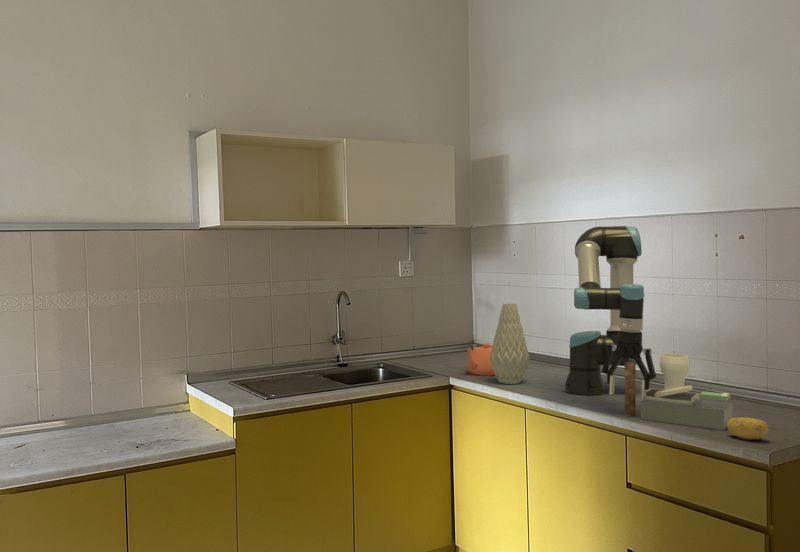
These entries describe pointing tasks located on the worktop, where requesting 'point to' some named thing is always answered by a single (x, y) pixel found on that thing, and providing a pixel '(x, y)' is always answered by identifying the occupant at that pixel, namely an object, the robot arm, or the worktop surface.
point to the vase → (509, 347)
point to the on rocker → (714, 395)
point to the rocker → (673, 391)
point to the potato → (748, 428)
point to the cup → (674, 370)
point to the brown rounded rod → (629, 388)
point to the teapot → (480, 360)
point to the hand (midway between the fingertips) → (627, 396)
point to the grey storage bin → (685, 410)
